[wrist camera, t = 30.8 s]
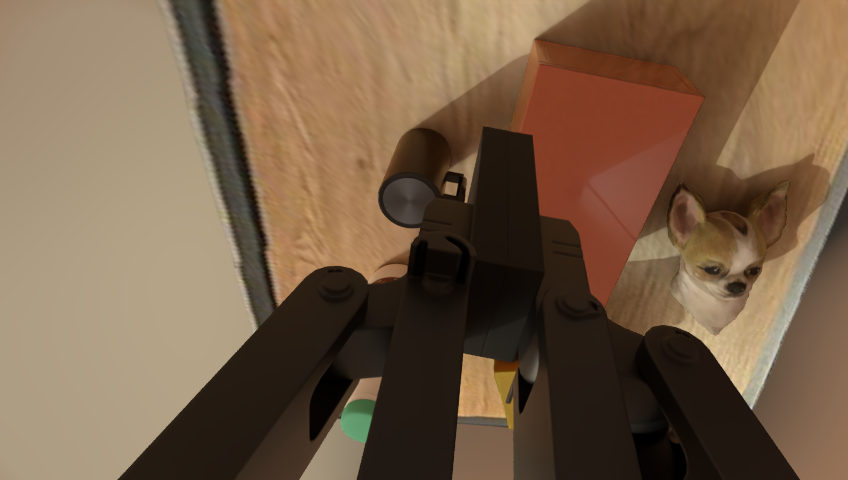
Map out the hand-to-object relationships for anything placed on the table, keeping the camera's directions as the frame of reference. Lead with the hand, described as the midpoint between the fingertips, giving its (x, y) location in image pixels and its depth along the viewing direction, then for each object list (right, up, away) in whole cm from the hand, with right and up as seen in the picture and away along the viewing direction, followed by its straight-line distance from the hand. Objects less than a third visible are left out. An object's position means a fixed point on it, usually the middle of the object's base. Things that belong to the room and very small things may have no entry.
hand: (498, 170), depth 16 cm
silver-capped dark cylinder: (-2, +7, +36) cm, 37 cm away
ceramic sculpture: (+27, -2, +37) cm, 46 cm away
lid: (+11, +1, +29) cm, 31 cm away
